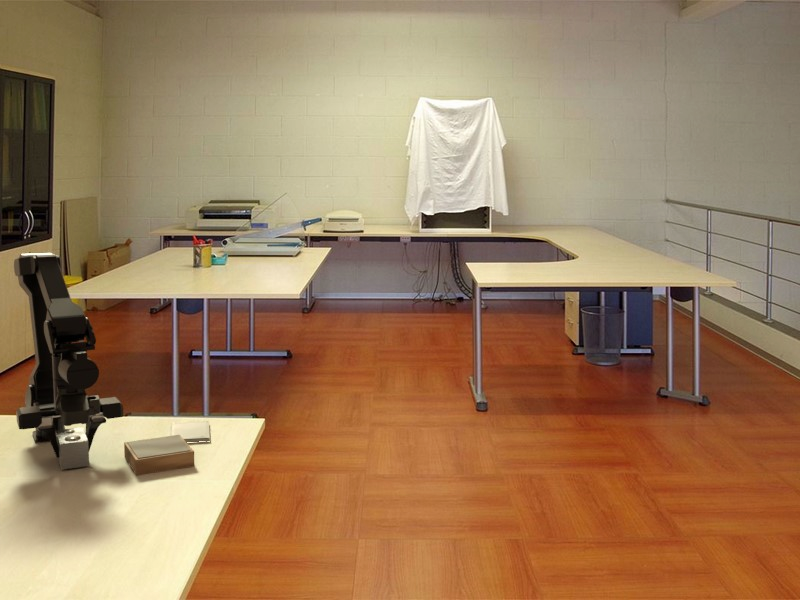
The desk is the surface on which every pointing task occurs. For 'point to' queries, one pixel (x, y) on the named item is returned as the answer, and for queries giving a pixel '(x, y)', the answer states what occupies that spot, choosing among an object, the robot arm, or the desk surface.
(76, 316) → the robot arm
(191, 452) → the stand
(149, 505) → the desk surface
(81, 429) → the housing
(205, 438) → the hard drive
